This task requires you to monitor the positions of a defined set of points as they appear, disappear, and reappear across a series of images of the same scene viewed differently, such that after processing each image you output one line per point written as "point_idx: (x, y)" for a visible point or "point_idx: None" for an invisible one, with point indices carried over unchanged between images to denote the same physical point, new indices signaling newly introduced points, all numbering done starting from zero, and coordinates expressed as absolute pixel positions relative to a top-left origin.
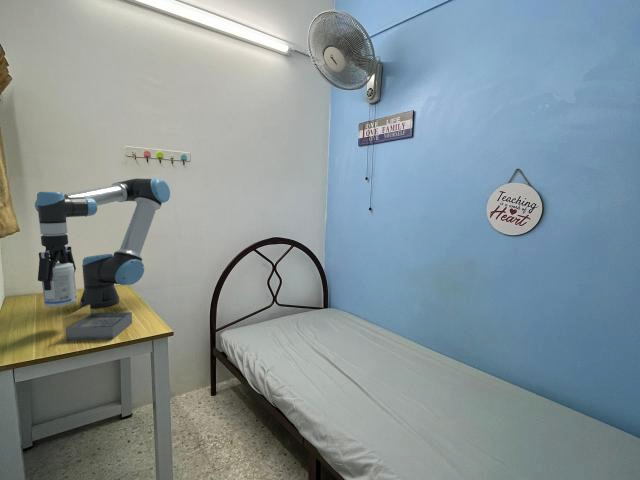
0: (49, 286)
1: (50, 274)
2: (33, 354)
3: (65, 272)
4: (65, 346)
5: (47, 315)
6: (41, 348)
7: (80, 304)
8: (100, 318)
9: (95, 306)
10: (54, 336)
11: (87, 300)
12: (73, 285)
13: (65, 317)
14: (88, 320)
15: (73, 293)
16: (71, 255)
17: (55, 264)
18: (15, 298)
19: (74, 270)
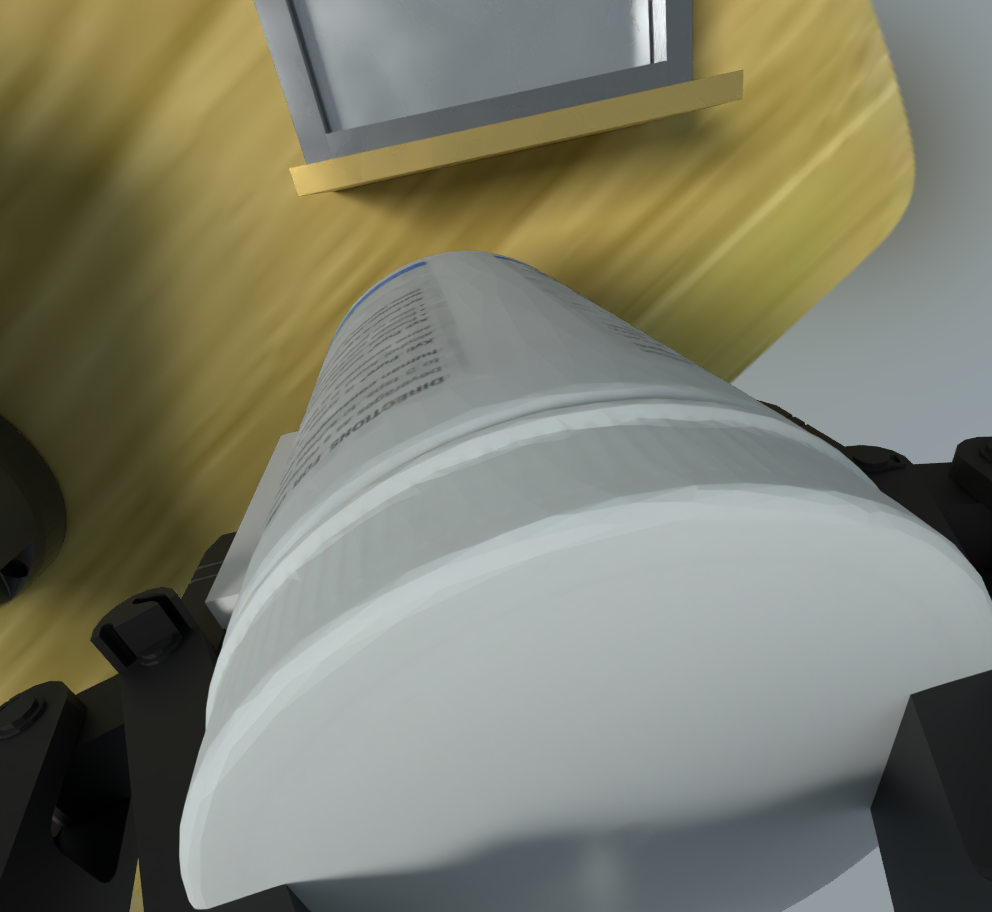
0: None
1: (950, 528)
2: (834, 149)
3: (738, 397)
4: (743, 15)
5: None
6: (753, 178)
7: (44, 568)
8: (337, 3)
9: (7, 439)
10: (575, 263)
11: (5, 525)
12: (455, 290)
13: (716, 88)
14: (413, 101)
15: (456, 267)
16: None
17: (952, 808)
18: (137, 893)
19: (107, 642)
